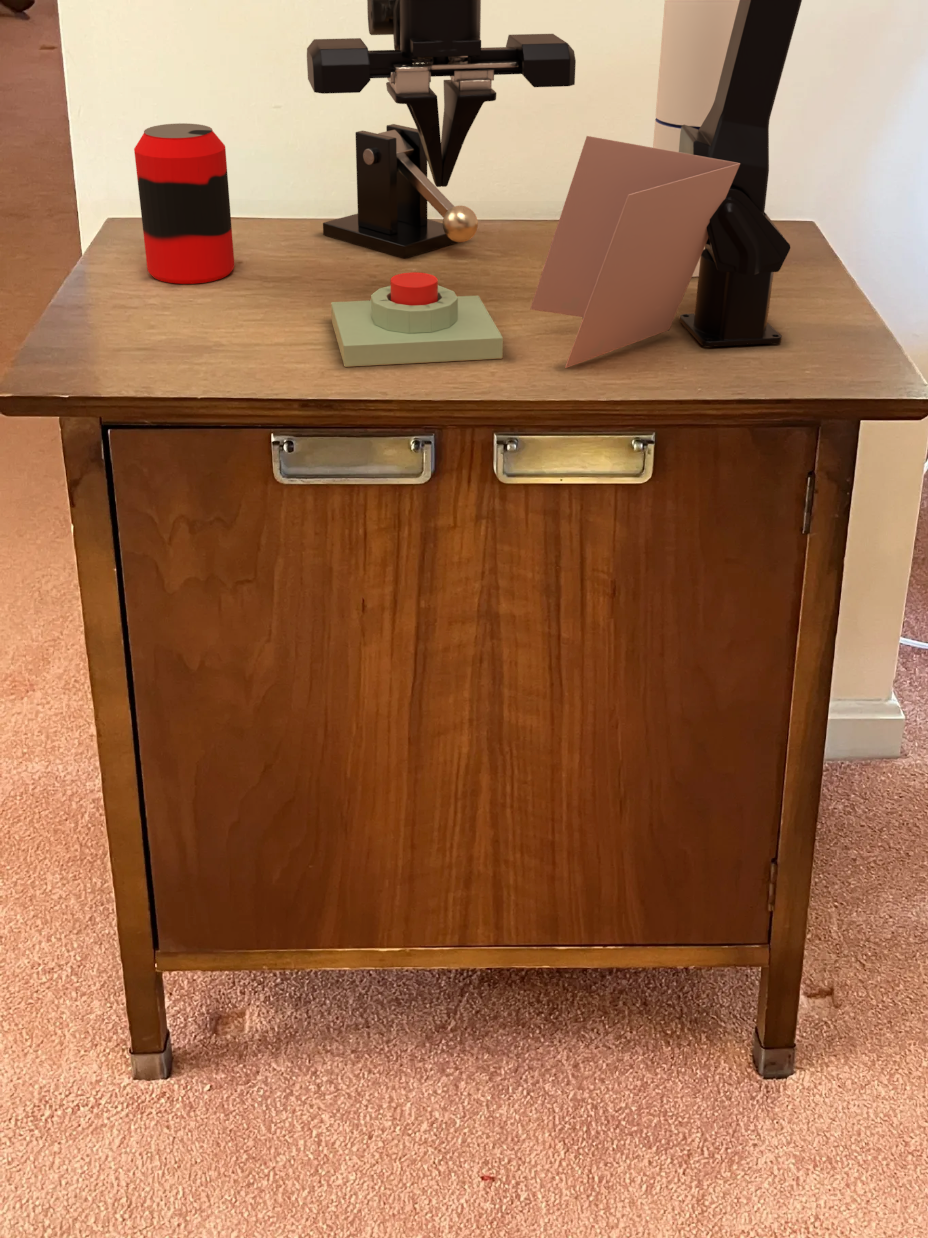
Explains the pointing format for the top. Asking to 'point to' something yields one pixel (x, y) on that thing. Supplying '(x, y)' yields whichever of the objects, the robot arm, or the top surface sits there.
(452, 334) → the button housing
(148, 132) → the soda can
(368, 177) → the switch bracket
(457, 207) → the lever
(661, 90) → the cylindrical container
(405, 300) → the button
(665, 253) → the greeting card
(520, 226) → the top surface
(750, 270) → the robot arm
